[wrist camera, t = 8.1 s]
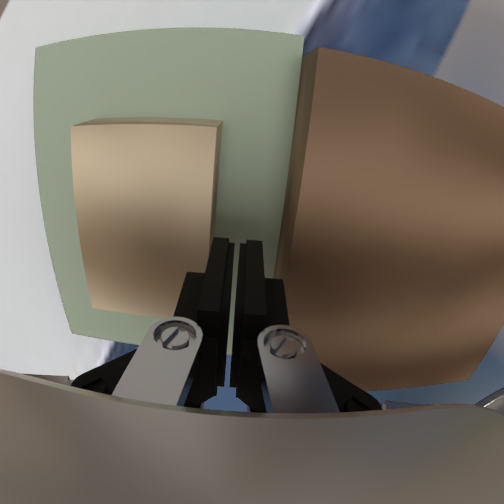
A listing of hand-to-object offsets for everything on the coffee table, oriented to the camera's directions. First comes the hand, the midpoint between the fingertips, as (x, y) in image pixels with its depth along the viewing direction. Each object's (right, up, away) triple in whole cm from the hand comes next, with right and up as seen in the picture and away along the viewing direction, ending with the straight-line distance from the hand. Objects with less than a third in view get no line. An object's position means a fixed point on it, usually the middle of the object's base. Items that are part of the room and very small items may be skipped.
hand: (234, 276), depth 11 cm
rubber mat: (-4, +3, +4) cm, 7 cm away
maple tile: (-4, +2, +2) cm, 5 cm away
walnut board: (+9, +2, +5) cm, 10 cm away
